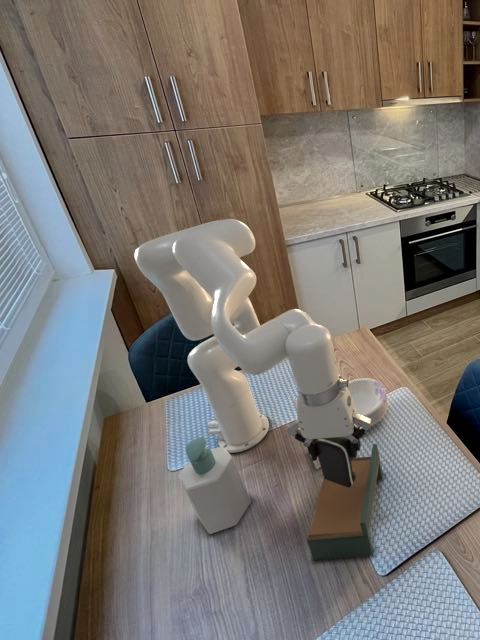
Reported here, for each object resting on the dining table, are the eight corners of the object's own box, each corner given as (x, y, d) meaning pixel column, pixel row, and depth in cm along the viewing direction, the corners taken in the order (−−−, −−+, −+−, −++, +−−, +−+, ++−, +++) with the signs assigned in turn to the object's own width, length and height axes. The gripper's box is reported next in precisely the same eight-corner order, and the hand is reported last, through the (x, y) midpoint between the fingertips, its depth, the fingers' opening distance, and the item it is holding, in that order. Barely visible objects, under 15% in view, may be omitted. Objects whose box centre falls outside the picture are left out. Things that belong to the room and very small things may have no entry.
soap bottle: (196, 540, 87) (160, 472, 77) (204, 501, 95) (171, 435, 85) (249, 521, 90) (220, 453, 81) (252, 485, 98) (226, 420, 88)
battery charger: (361, 473, 86) (353, 435, 81) (350, 489, 83) (342, 451, 78) (333, 464, 88) (324, 426, 83) (322, 479, 85) (312, 441, 80)
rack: (313, 560, 83) (302, 527, 78) (333, 479, 99) (325, 447, 94) (372, 555, 83) (365, 522, 78) (382, 475, 99) (377, 443, 95)
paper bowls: (400, 413, 117) (397, 393, 113) (355, 448, 106) (351, 427, 103) (368, 389, 126) (364, 369, 122) (324, 419, 116) (319, 398, 112)
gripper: (370, 370, 78) (381, 434, 86) (279, 376, 78) (298, 441, 85) (363, 399, 72) (376, 466, 79) (264, 406, 71) (286, 473, 79)
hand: (336, 452), depth 82 cm, fingers closed on battery charger, 7 cm apart
